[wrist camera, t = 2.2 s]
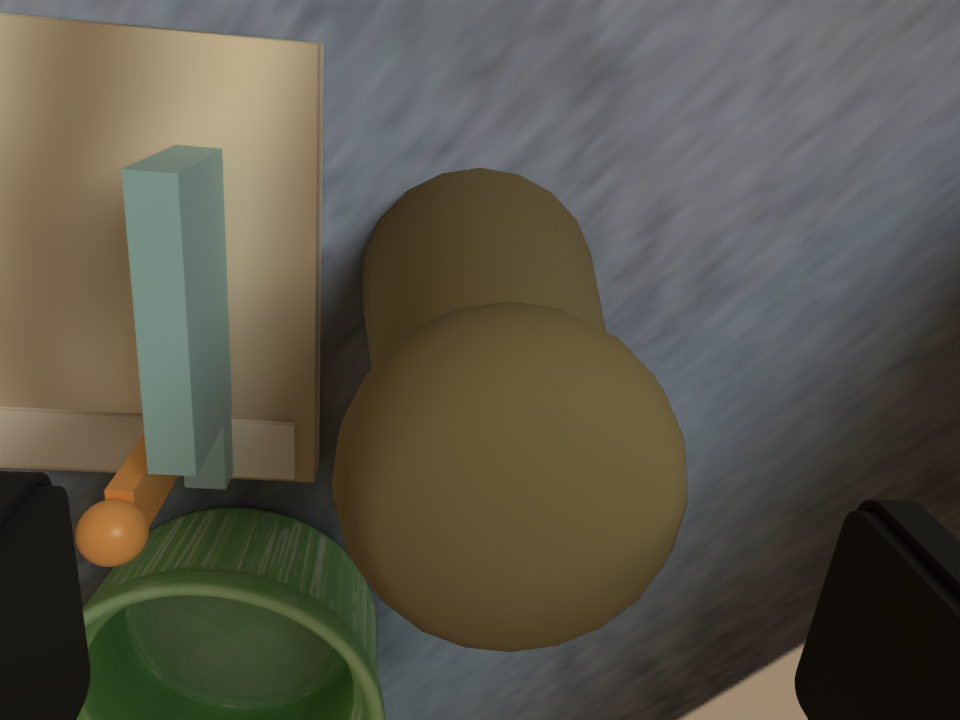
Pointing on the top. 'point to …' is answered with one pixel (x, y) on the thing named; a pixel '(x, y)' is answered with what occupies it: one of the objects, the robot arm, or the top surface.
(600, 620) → the cork
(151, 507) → the ball-ended orange rod
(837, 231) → the top surface
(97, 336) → the stand
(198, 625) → the ramekin
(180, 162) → the pad
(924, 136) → the top surface
